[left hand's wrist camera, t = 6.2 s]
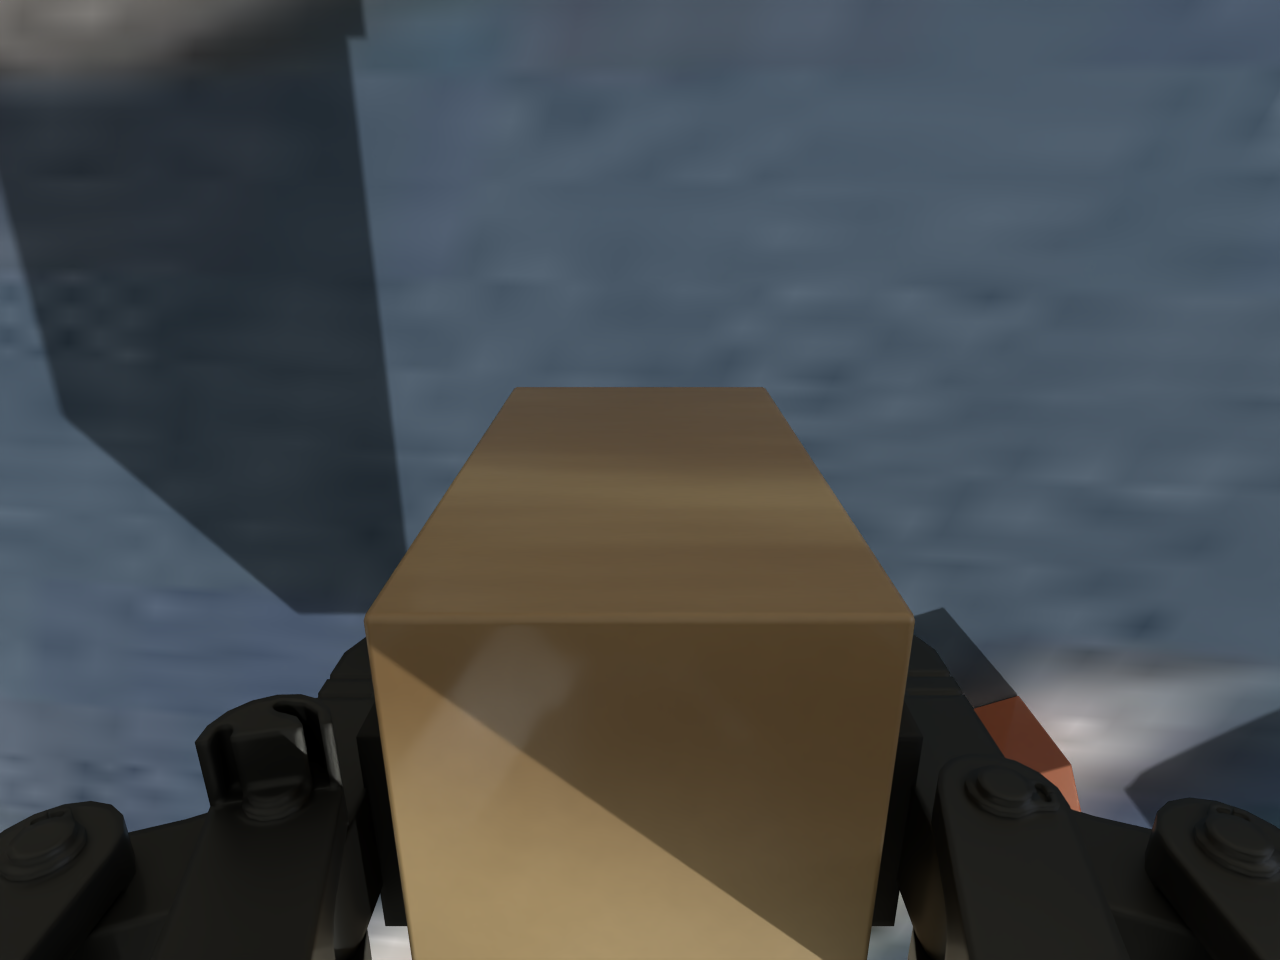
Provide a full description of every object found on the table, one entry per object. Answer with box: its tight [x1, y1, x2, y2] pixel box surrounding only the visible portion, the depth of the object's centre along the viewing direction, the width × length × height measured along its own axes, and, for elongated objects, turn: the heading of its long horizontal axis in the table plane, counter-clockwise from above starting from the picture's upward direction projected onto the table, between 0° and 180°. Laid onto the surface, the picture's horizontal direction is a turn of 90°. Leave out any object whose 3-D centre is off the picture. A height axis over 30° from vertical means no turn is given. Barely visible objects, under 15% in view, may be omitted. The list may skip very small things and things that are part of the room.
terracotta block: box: [974, 696, 1081, 812], centre depth 30 cm, size 4×4×4 cm
